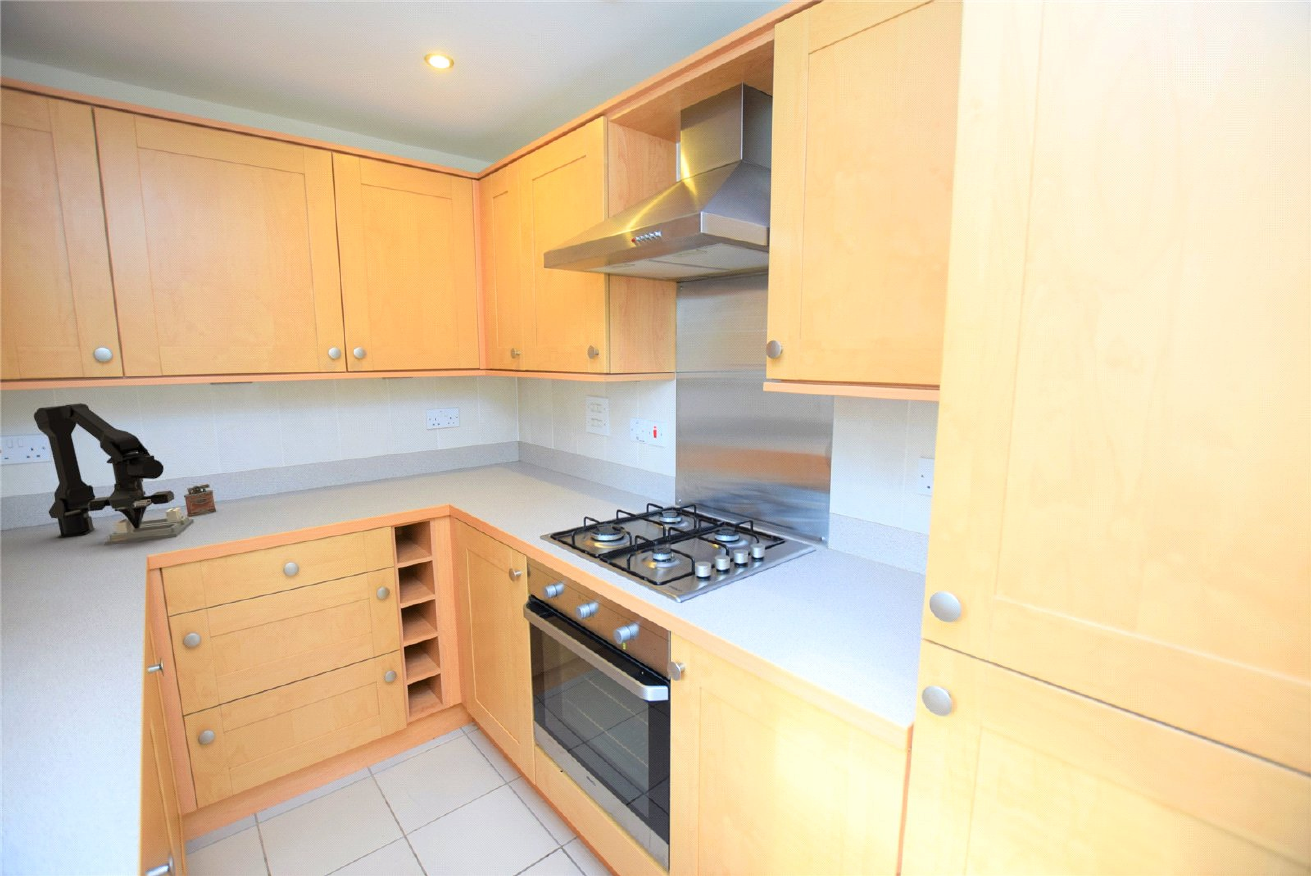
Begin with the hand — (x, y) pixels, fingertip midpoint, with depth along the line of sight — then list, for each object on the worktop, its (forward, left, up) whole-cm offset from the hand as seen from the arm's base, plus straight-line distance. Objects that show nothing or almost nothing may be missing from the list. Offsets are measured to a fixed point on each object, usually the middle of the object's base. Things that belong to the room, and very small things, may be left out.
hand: (137, 528), depth 177 cm
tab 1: (-3, 0, -2) cm, 4 cm away
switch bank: (+2, +4, -3) cm, 5 cm away
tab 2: (+7, +8, -2) cm, 11 cm away
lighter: (+10, +22, -3) cm, 24 cm away
